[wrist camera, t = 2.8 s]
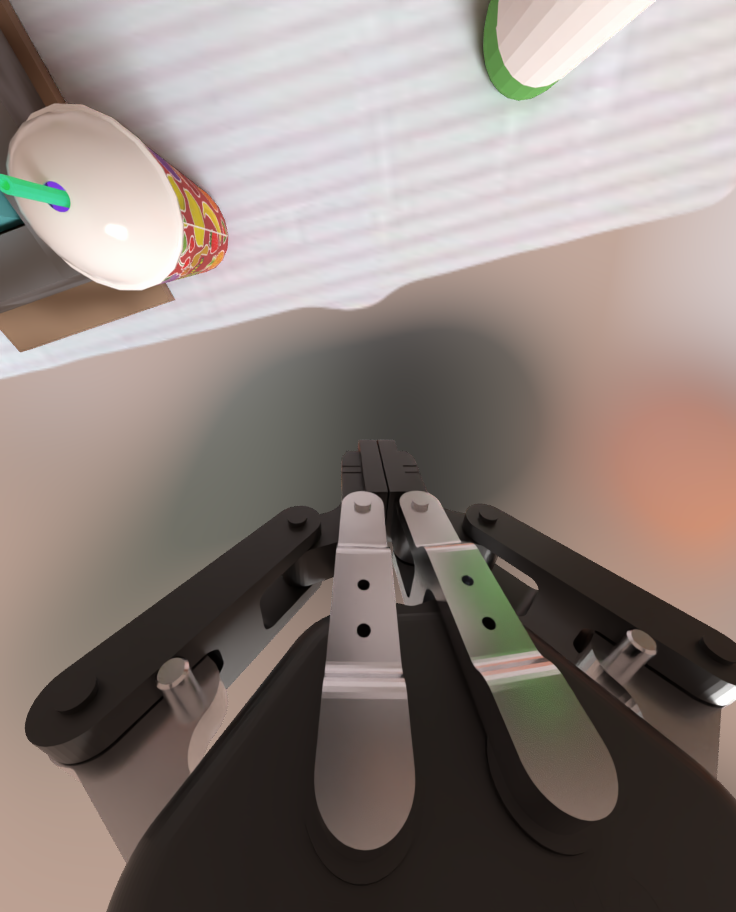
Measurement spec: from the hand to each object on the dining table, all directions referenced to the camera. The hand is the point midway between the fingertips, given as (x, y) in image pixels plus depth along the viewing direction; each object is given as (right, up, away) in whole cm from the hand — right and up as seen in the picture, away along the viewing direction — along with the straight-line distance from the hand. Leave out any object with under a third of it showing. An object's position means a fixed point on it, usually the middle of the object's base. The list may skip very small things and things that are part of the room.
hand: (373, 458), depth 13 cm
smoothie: (-17, +22, +16) cm, 32 cm away
